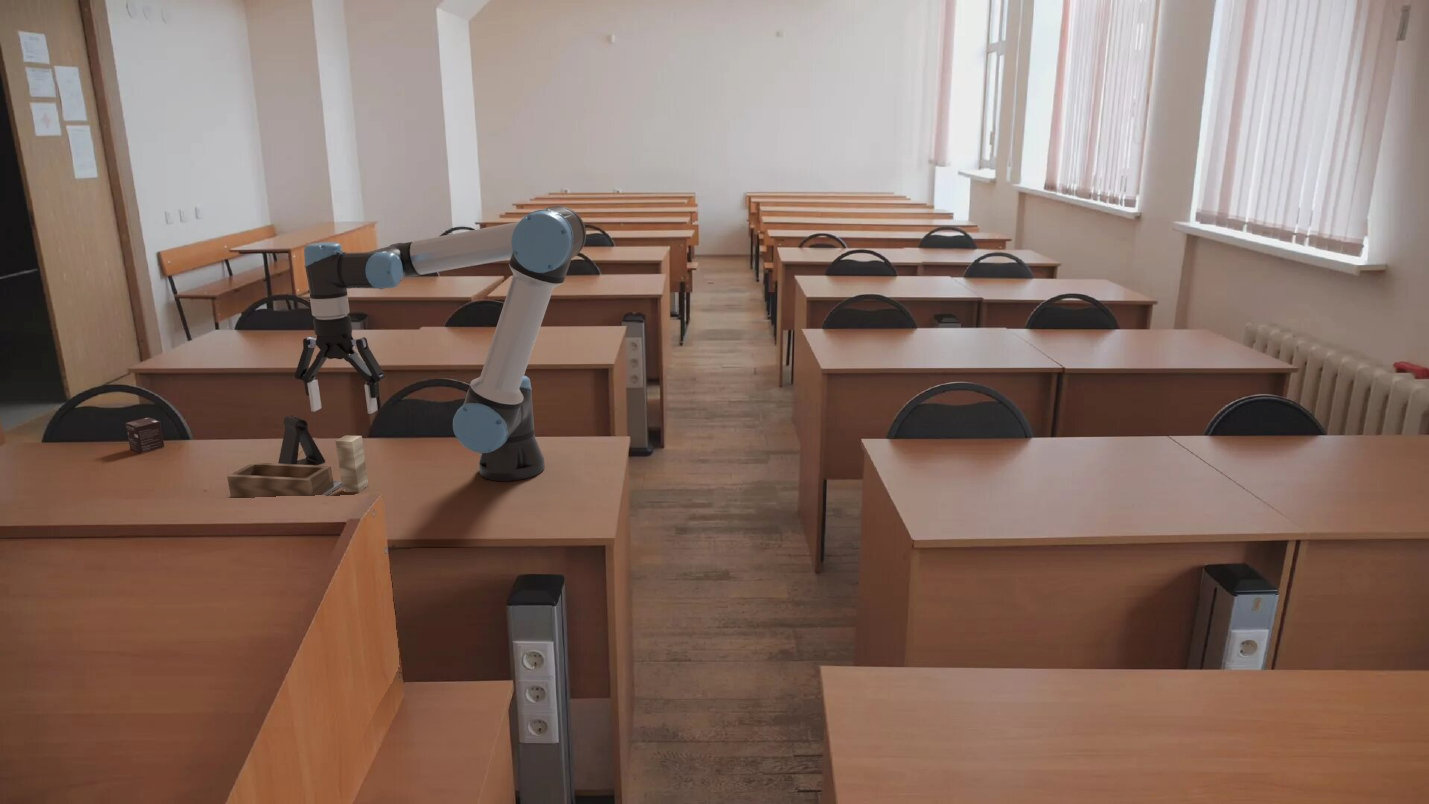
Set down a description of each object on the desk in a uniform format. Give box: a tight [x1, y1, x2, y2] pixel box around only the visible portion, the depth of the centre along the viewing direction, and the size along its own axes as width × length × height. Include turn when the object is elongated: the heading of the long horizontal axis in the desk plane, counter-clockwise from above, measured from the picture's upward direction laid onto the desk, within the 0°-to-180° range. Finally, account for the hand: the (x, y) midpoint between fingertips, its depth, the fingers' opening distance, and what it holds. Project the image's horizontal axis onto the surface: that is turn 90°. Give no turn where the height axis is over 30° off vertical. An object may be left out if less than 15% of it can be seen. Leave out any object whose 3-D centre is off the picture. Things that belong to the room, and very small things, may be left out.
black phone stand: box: [277, 414, 326, 466], centre depth 227 cm, size 9×6×12 cm, turn 138°
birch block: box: [335, 434, 369, 494], centre depth 211 cm, size 4×4×12 cm
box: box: [125, 416, 165, 454], centre depth 242 cm, size 6×6×7 cm
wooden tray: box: [226, 462, 342, 498], centre depth 208 cm, size 20×16×6 cm
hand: (344, 410), depth 207 cm, fingers open, 13 cm apart
